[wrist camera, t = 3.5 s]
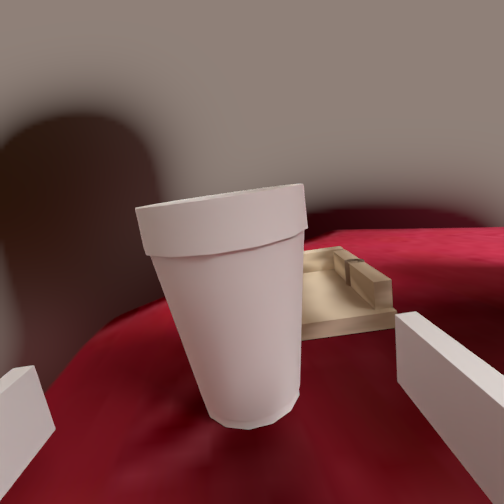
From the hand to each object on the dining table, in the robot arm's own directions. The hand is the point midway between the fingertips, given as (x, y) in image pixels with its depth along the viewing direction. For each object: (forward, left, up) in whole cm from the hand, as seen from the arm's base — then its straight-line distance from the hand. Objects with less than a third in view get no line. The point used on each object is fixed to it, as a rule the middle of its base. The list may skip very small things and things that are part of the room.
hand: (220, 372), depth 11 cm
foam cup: (0, -8, -7) cm, 11 cm away
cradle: (-5, -21, -7) cm, 23 cm away
